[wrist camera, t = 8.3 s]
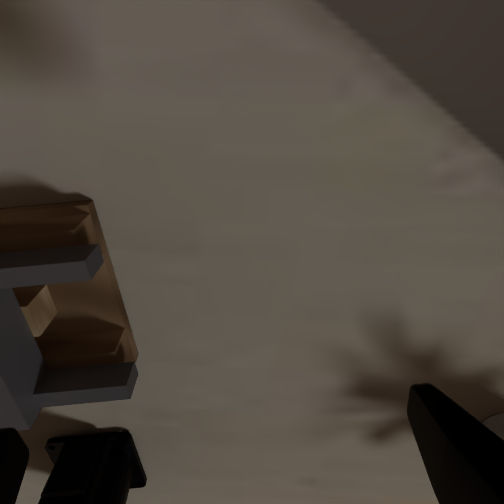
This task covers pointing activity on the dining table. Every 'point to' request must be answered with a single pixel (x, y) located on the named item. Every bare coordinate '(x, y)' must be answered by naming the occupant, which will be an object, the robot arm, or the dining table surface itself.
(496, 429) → the house plant
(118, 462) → the robot arm
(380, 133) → the dining table surface
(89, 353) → the display stand
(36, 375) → the grey c-shaped bracket
